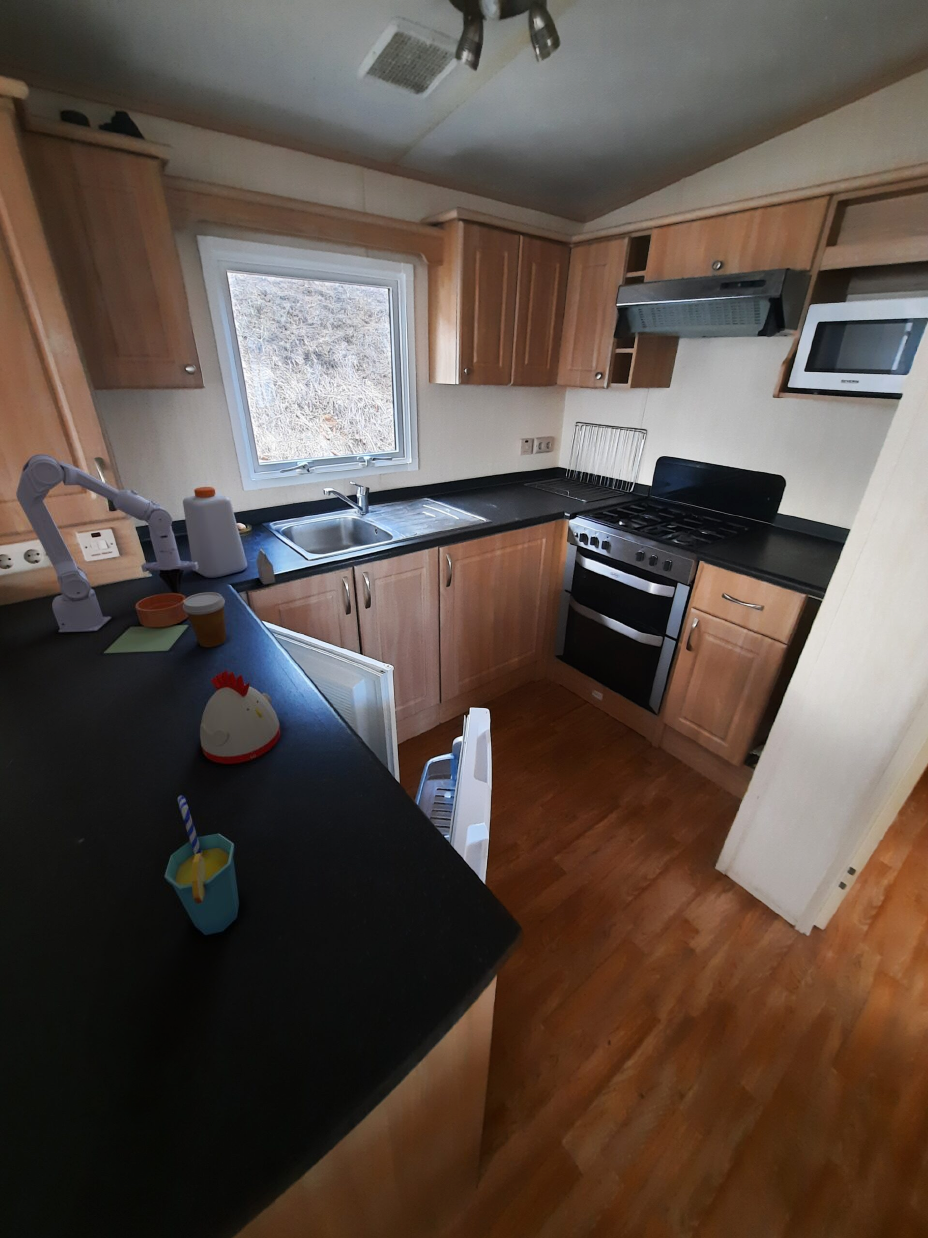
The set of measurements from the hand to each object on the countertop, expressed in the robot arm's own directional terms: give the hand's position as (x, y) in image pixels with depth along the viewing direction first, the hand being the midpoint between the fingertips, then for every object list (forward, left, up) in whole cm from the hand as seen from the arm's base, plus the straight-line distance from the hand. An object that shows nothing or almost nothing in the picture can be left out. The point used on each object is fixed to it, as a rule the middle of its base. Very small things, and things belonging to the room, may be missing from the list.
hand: (177, 593), depth 149 cm
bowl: (0, -10, -4) cm, 11 cm away
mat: (0, -21, -4) cm, 22 cm away
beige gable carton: (+21, +18, -4) cm, 28 cm away
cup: (+41, -99, -4) cm, 107 cm away
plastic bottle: (+3, +29, -4) cm, 29 cm away
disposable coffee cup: (+17, -24, -4) cm, 30 cm away
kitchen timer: (+35, -64, -4) cm, 73 cm away
